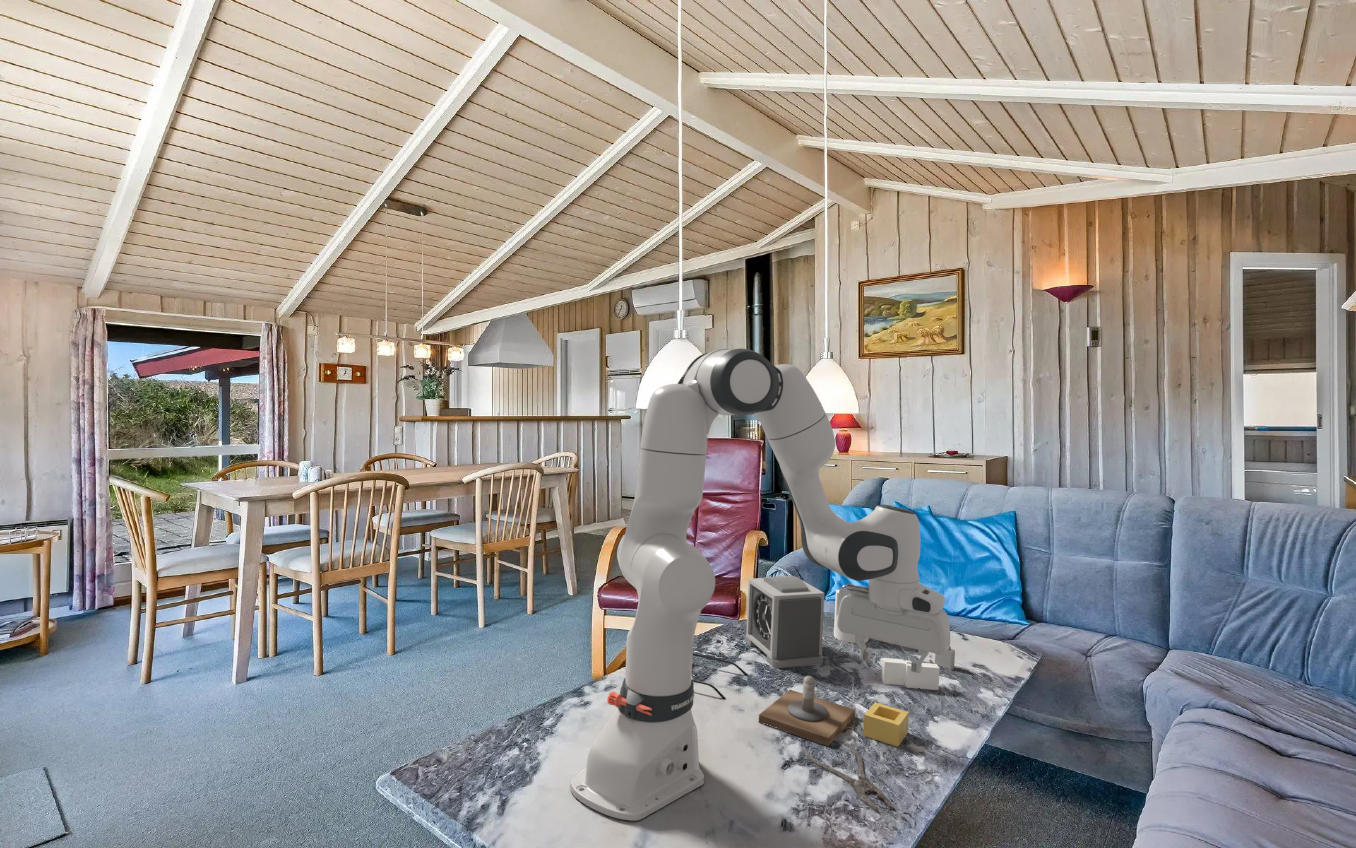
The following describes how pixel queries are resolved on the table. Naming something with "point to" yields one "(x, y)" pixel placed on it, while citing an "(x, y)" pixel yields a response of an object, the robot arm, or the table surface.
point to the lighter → (946, 659)
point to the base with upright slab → (837, 633)
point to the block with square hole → (886, 724)
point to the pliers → (857, 781)
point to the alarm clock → (785, 620)
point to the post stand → (808, 715)
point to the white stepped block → (910, 674)
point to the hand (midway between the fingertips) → (890, 665)
